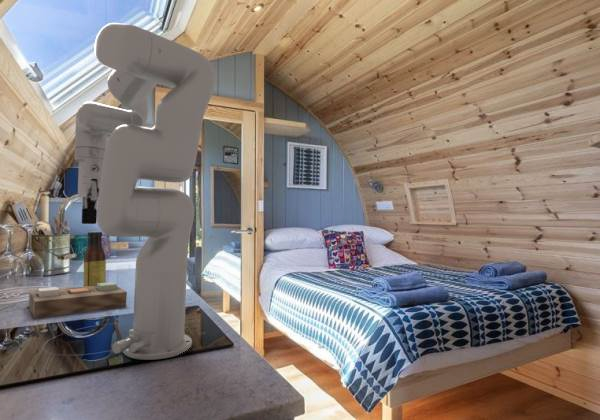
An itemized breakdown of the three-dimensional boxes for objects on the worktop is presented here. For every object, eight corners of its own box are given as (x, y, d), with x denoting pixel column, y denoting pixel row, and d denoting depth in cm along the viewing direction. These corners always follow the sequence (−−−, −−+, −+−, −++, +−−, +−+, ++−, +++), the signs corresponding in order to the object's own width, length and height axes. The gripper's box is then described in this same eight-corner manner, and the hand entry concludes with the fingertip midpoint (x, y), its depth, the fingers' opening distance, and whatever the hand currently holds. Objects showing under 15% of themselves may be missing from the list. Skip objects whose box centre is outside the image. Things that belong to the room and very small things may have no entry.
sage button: (112, 292, 108) (112, 282, 108) (116, 294, 105) (116, 284, 105) (96, 293, 105) (97, 283, 105) (100, 296, 102) (100, 285, 102)
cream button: (56, 297, 98) (56, 286, 98) (58, 300, 95) (59, 289, 95) (37, 299, 96) (38, 288, 96) (39, 302, 93) (40, 291, 93)
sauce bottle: (109, 291, 120) (112, 231, 120) (97, 295, 113) (99, 232, 114) (91, 290, 120) (93, 230, 121) (77, 294, 114) (80, 231, 114)
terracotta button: (85, 298, 103) (86, 287, 103) (88, 301, 100) (89, 290, 100) (68, 300, 100) (68, 289, 100) (71, 303, 97) (71, 292, 97)
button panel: (112, 296, 112) (113, 283, 112) (126, 306, 102) (126, 291, 102) (28, 306, 98) (29, 291, 98) (34, 318, 88) (35, 301, 88)
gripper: (113, 154, 95) (111, 223, 94) (99, 161, 106) (97, 224, 105) (80, 150, 90) (78, 223, 89) (69, 158, 101) (67, 223, 100)
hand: (89, 223), depth 97 cm, fingers closed
